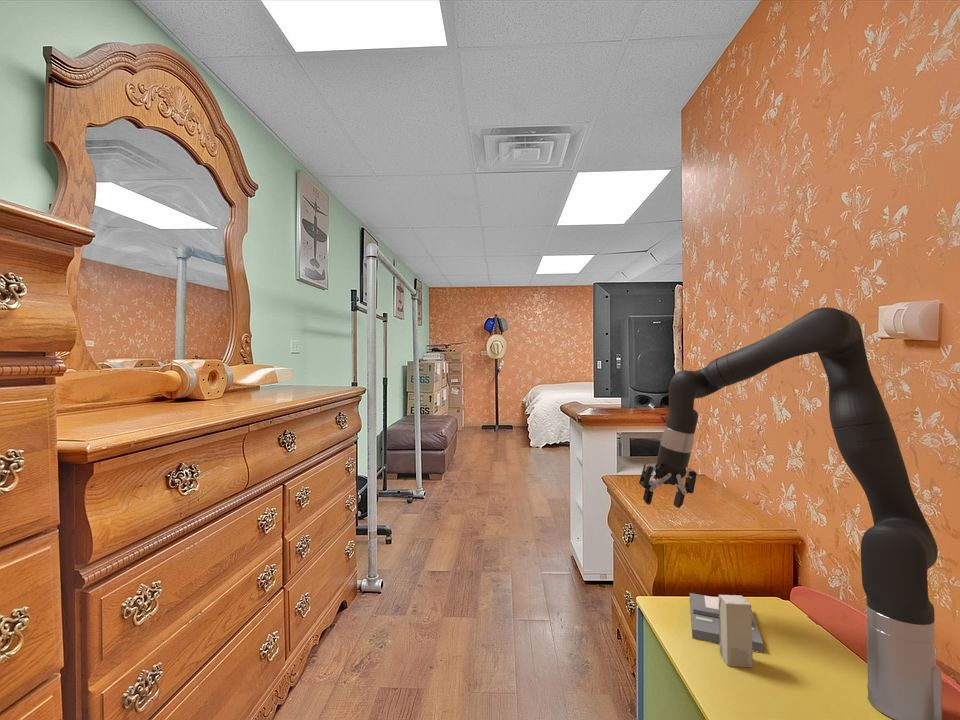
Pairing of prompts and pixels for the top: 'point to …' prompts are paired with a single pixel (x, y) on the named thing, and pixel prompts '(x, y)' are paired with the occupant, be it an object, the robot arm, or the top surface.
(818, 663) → the top surface
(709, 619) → the switch board
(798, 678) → the top surface
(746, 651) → the box
